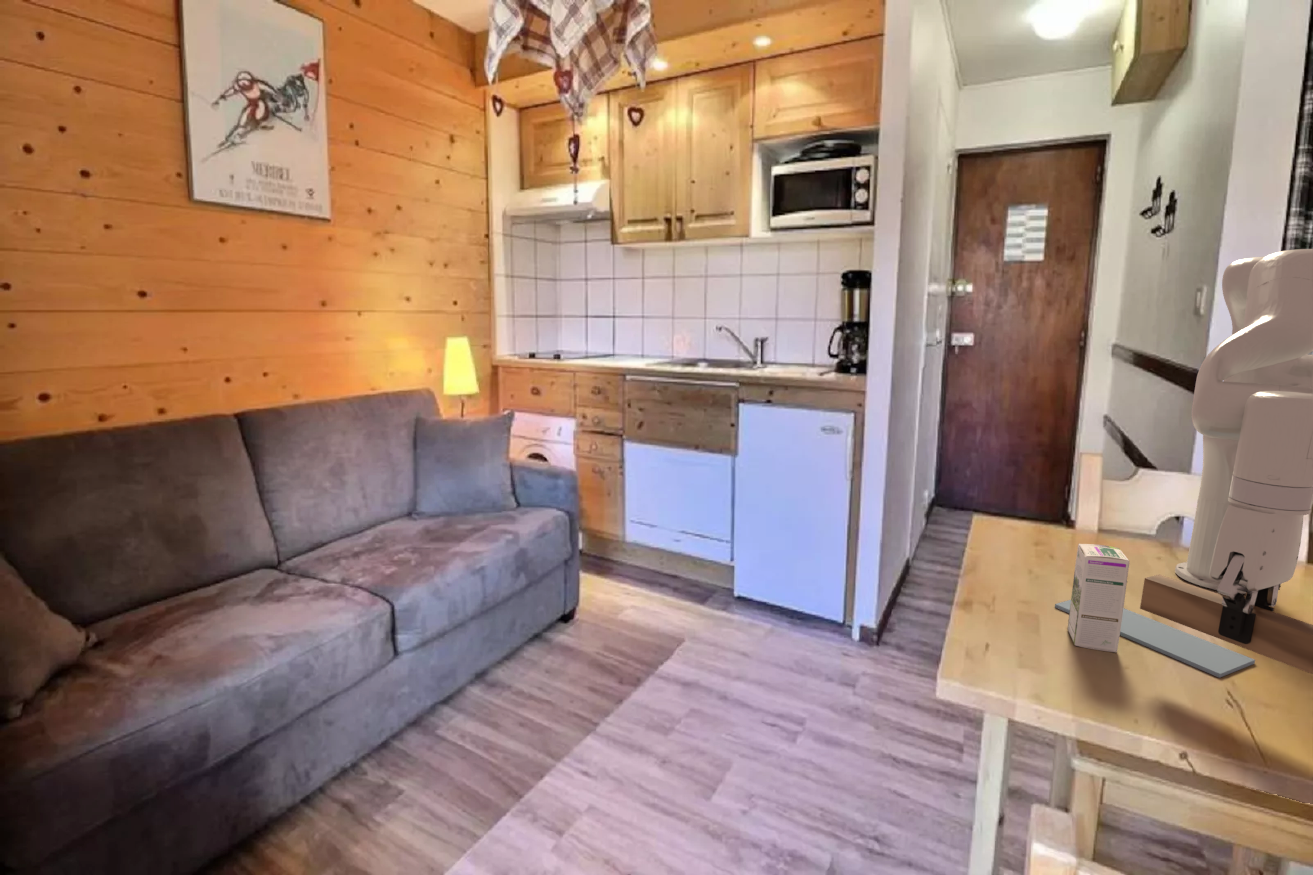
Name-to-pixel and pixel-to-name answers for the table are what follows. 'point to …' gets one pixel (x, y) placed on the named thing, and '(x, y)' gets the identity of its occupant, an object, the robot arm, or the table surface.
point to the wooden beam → (1203, 613)
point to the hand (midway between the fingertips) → (1243, 634)
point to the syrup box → (1098, 597)
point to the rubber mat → (1178, 644)
